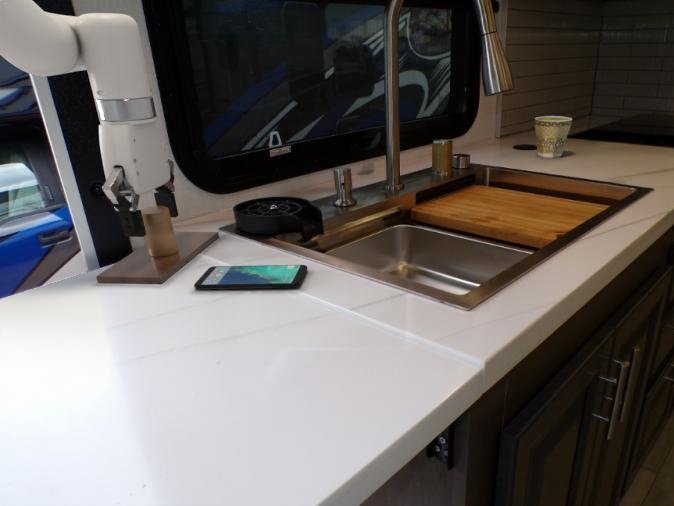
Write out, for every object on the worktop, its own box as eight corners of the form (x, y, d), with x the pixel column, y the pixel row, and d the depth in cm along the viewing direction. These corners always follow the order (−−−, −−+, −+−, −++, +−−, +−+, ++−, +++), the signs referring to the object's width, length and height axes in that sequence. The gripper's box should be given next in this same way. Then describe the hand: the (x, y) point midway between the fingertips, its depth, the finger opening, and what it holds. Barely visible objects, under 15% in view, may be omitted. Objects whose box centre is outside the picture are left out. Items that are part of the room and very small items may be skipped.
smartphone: (210, 265, 79) (308, 264, 78) (211, 270, 79) (308, 268, 79) (191, 285, 73) (298, 284, 72) (192, 290, 73) (298, 288, 72)
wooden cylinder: (143, 256, 83) (132, 214, 80) (157, 246, 87) (147, 205, 84) (169, 257, 82) (159, 214, 79) (183, 247, 86) (173, 205, 83)
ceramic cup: (565, 159, 143) (569, 121, 138) (528, 157, 146) (531, 120, 142) (571, 151, 153) (575, 115, 149) (537, 149, 157) (540, 114, 152)
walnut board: (97, 282, 77) (95, 276, 76) (166, 236, 94) (165, 231, 94) (161, 284, 76) (160, 277, 75) (219, 237, 93) (218, 231, 93)
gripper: (136, 105, 83) (159, 209, 91) (61, 119, 68) (96, 244, 75) (181, 105, 82) (200, 210, 90) (115, 119, 67) (145, 245, 74)
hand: (153, 225), depth 82 cm, fingers open, 9 cm apart
